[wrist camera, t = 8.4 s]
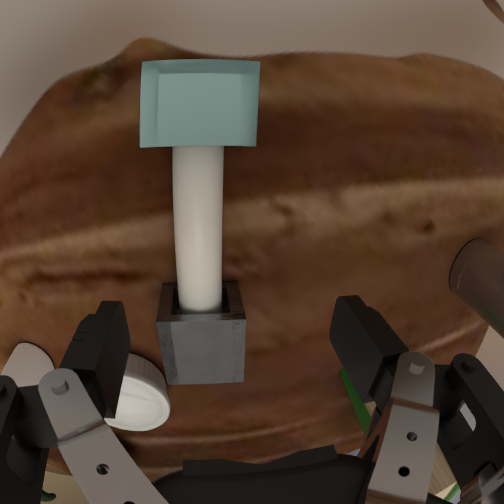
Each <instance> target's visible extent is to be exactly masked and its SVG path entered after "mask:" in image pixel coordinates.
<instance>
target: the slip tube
mask: <svg viewBox="0 0 504 504" xmlns="http://www.w3.org/2000/svg"><path fill="white" fill-rule="evenodd" d="M223 161H224V146H172V167H173V212H174V235H175V253H176V269H177V282H178V295H179V306H180V315H189V314H221V313H222V204H223Z"/></svg>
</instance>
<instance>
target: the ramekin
mask: <svg viewBox="0 0 504 504" xmlns="http://www.w3.org/2000/svg"><path fill="white" fill-rule="evenodd" d="M169 414H170V401H169V398H168V396H167V390H166V384H165V380H164V377H163V375H162V374H161V372H160V371H159V369H158V368H156V366H155V365H153V364H152V363H151V362H150V361H148V360H146V359H145V358H143V357H140V356H138V355H135V354H131V353H129V356H128V360H127V364H126V369H125V373H124V377H123V382H122V386H121V391H120V396H119V401H118V406H117V411H116V416H115V419H109V418H104V420H105V421H106V422H107V424H108V425H111V426H114V427H117V428H120V429H125V430H132V431H145V430H150V429H153V428H156V427H158V426H160V425H161V424H163V423H164V422H165V421H166V420H167V418H168V416H169Z"/></svg>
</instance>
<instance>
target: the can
mask: <svg viewBox="0 0 504 504" xmlns="http://www.w3.org/2000/svg"><path fill="white" fill-rule="evenodd" d="M52 370H54V366H53V363H52V361H51V359H50V357H49V356H48V355H47V354H46V353H45V352H44V351H43V350H42V349H41V348H39V347H38V346H36V345H34V344H31V343H20V344H18V345H17V346H16V348H15V349H14V351H13V353H12V354H11V356H10V358H9V360H8V362H7V363H6V365H5V367H4V369H3V371H2V373H1V375H6V376H9V377H11V378H12V379H13V380H14V381H15V383H16V385H17V386H18V387H23V386H32V385H38V384H39V382H40V380H41V378H42V377H43V376H44V375H45V374H46V373H48V372H50V371H52Z"/></svg>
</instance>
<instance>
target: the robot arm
mask: <svg viewBox="0 0 504 504" xmlns="http://www.w3.org/2000/svg"><path fill="white" fill-rule="evenodd" d="M450 287H451V290H452V291H453V293H455V294H456V295H457V296H458V297H459V298H460V299H461V300H463V301H464V302H465V303H466V304H467V305H468V306H469V307H470V308H471V309H473V310H474V311H475V312H476V313H477V314H478V315H479V316H480V317H481V318H482V319H484V320H485V321H486V322H487V323H488V324H489V325H490V326H491V327H492V328H493V329H494V330H495V331H496V332H497V333H498V334H499V335H501V336H502V337H503V338H504V253H503V252H502V251H500V250H499V249H497V248H496V247H494V246H492V245H491V244H489V243H487V242H486V241H484V240H482V239H475V240H473V241H471V242H469V243H468V244H467V245H466V246H465V247H464V248H463V249H462V250H461V252H460V253H459V255H458V256H457V258H456V260H455V262H454V264H453V267H452V270H451V274H450ZM330 341H331V344H332V346H333V348H334V349H335V351H336V353H337V355H338V357H339V359H340V361H341V363H342V365H343V367H344V368H345V370H346V372H347V374H348V376H349V378H350V380H351V382H352V384H353V386H354V388H355V390H356V392H357V394H358V396H359V397H360V399H361V401H362V403H363V404H364V403H369V402H373V401H374V402H375V403H376V407H375V409H374V411H373V414H372V417H371V420H370V423H369V426H368V429H367V432H366V435H365V438H364V441H363V444H362V447H361V449H360V451H359V454H358V455H357V456H352V455H346V454H337V453H336V450H335V448H334V445H330V446H325V447H320V448H315V449H309V450H303V451H298V452H296V453H293V454H291V455H288V456H285V457H283V458H280V459H277V460H275V461H272V462H269V463H266V464H251V463H243V462H236V461H229V460H223V459H216V460H183V469H182V470H178V471H174V472H171V473H168V474H166V475H163V476H161V477H159V478H157V479H156V480H154V481H152V482H150V481H149V480H148V479H147V478H146V476H145V475H144V474H143V473H142V471H141V470H140V469H139V467H138V466H137V465H136V464H135V462H134V461H133V460H132V458H131V457H130V455H129V454H128V453H127V451H126V450H125V449H124V447H123V446H122V444H121V443H120V442H119V440H118V439H117V437H116V436H115V434H114V433H113V431H112V430H111V428H110V427H109V425H108V424H107V422H106V421H105V420H104V418H109V419H115V416H116V411H117V406H118V401H119V396H120V391H121V386H122V382H123V377H124V373H125V369H126V364H127V360H128V356H129V352H130V335H129V330H128V325H127V320H126V315H125V310H124V305H123V303H122V301H102V302H101V303H100V305H99V308H98V310H97V312H96V314H89V315H88V316H86V317H85V318H84V319H83V320H82V321H81V322H80V324H79V326H78V328H77V330H76V333H75V334H74V336H73V338H72V341H71V342H70V344H69V347H68V349H67V351H66V353H65V355H64V358H63V360H62V362H61V364H60V367H59V369H55V370H52V371H50V372H48V373H46V374H45V375H44V376H43V377H42V378H41V380H40V382H39V384H38V385H32V386H23V387H18V386H17V385H16V383H15V381H14V380H13V379H12V378H11V377H9V376H6V375H0V504H40V502H41V495H42V487H43V481H44V475H45V469H46V464H47V458H48V453H49V448H50V447H59V449H60V452H61V454H62V456H63V458H64V460H65V462H66V464H67V466H68V467H69V469H70V471H71V473H72V475H73V477H74V479H75V480H76V482H77V484H78V486H79V487H80V489H81V491H82V492H83V494H84V496H85V498H86V499H87V501H88V502H89V504H453V503H451V502H448V501H446V500H444V499H442V498H440V497H437V496H435V495H433V494H431V493H429V492H428V489H429V484H430V479H431V474H432V469H433V463H434V456H435V450H436V442H437V443H438V445H439V447H440V449H441V451H442V453H443V455H444V457H445V459H446V461H447V463H448V465H449V467H450V469H451V471H452V473H453V475H454V477H455V479H456V481H457V483H458V485H459V487H460V489H461V494H460V501H459V502H458V503H457V504H504V391H503V390H502V389H501V387H500V386H499V385H498V383H497V382H496V381H495V379H494V378H493V377H492V376H491V375H490V373H489V372H488V371H487V369H486V368H485V367H484V366H483V364H482V363H481V362H480V361H479V360H478V359H477V358H476V357H474V356H472V355H470V354H465V353H460V354H457V355H456V356H455V357H454V358H453V360H452V362H451V364H450V365H436V364H434V363H433V361H432V360H431V359H430V358H429V357H428V356H426V355H425V354H422V353H420V352H416V351H409V350H408V348H407V347H406V346H405V345H404V343H403V342H402V341H401V339H400V338H399V337H398V336H397V334H396V333H395V332H394V331H393V330H392V329H391V327H390V325H389V324H388V323H386V320H385V319H384V318H383V317H382V315H381V314H380V313H379V312H377V311H376V310H374V309H373V308H371V307H367V306H366V305H365V303H364V302H363V301H362V300H361V298H360V297H359V296H358V295H352V296H339V297H338V298H337V300H336V304H335V309H334V313H333V318H332V322H331V326H330ZM464 403H466V405H467V407H468V408H469V410H470V411H471V413H472V414H473V416H474V417H475V420H476V427H475V430H474V431H472V429H471V428H470V426H469V425H468V423H467V421H466V420H465V418H464V416H463V415H462V413H461V412H460V409H461V407H462V406H463V404H464Z"/></svg>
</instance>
